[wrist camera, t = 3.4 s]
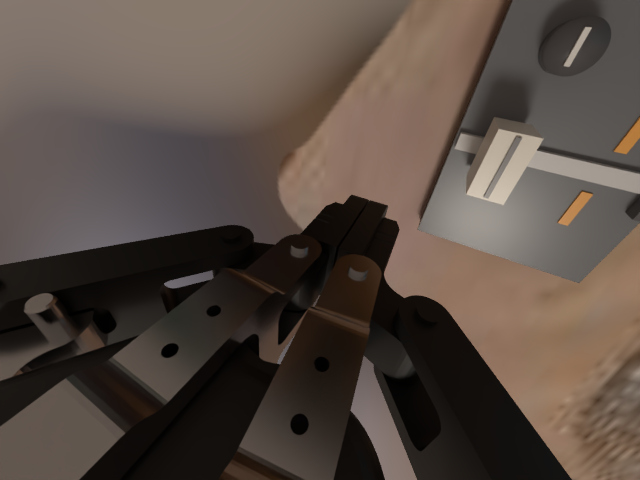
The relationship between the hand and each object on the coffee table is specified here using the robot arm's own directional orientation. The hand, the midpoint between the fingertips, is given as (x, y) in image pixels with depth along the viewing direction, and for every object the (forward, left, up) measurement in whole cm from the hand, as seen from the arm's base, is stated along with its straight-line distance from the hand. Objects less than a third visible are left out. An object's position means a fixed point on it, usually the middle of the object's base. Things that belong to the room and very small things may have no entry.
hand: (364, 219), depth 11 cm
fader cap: (0, +6, -14) cm, 16 cm away
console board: (0, +10, -17) cm, 20 cm away
